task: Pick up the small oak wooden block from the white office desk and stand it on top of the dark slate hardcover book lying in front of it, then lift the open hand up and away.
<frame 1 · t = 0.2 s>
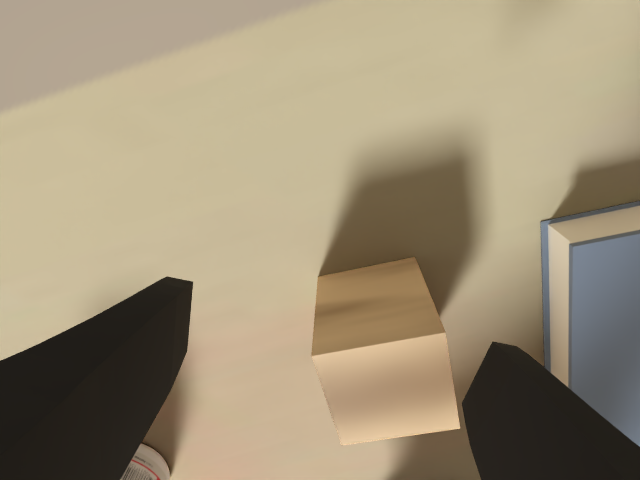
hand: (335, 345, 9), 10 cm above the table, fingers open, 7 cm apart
oak block: (375, 306, 21), on the table
pill bottle: (130, 462, 27), on the table
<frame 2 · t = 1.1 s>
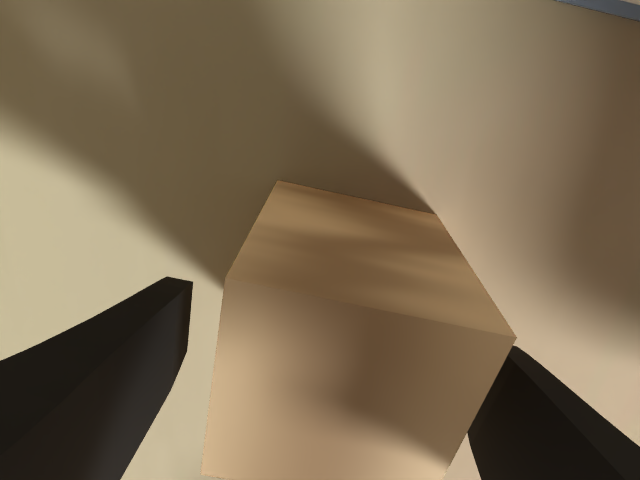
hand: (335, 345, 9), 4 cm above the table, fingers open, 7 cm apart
oak block: (339, 267, 13), on the table
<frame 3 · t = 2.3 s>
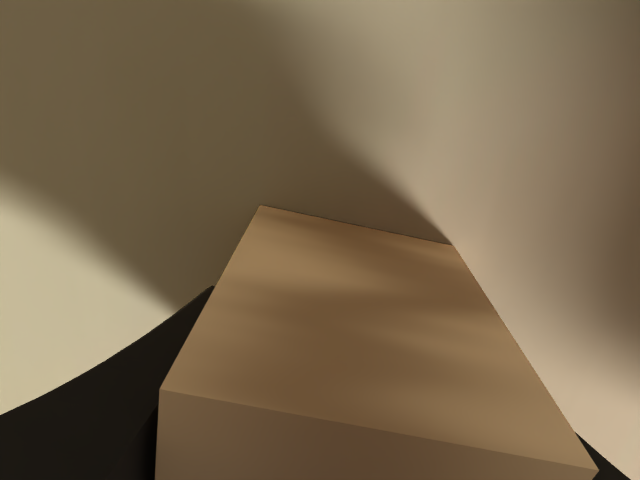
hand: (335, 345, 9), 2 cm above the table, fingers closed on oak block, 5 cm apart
oak block: (335, 307, 11), on the table, touching gripper
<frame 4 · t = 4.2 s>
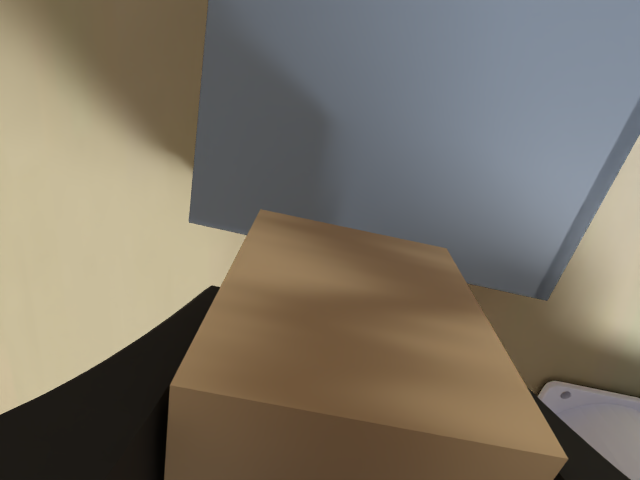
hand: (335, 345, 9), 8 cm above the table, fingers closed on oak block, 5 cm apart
oak block: (333, 306, 11), point 6 cm above the table, touching gripper
book: (404, 105, 15), on the table
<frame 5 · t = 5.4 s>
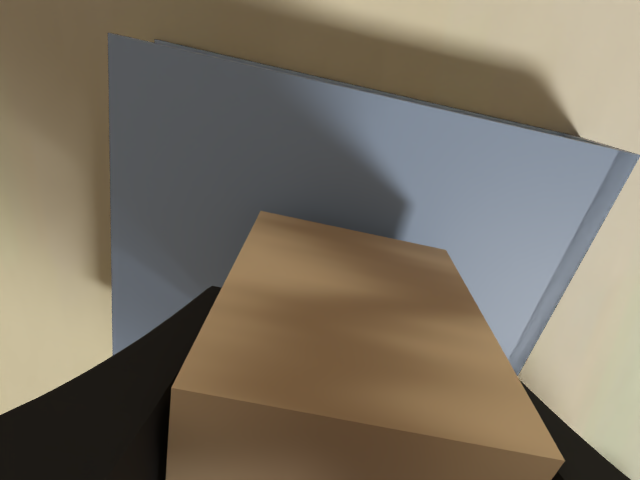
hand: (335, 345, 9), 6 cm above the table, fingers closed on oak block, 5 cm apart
oak block: (333, 307, 11), point 4 cm above the table, touching gripper
book: (335, 239, 15), on the table
when the fingers open (6 cm above the table, at t = 6.1 s): oak block drops 1 cm, resting on book.
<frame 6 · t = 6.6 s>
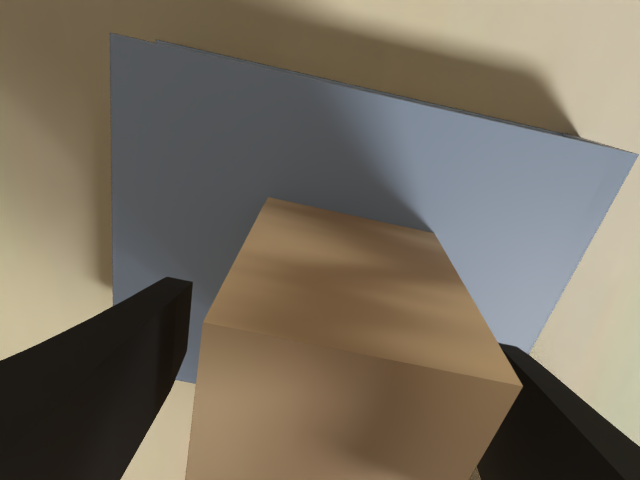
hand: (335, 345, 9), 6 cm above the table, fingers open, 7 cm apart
oak block: (332, 287, 12), point 3 cm above the table, touching book
book: (335, 239, 15), on the table, touching oak block
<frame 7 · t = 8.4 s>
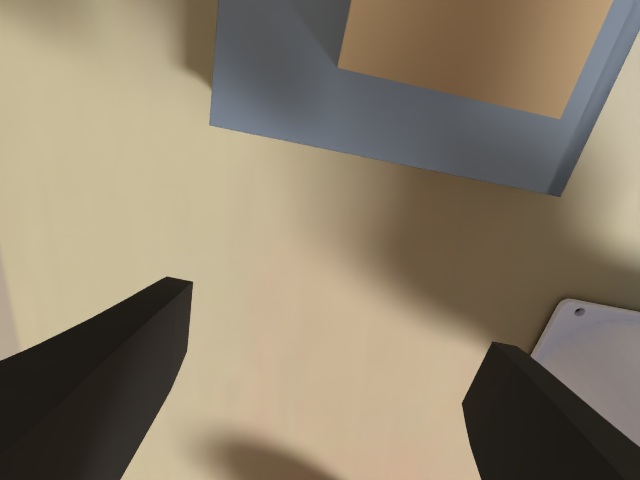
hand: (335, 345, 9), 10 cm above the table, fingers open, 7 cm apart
oak block: (427, 3, 13), point 3 cm above the table
book: (415, 10, 16), on the table
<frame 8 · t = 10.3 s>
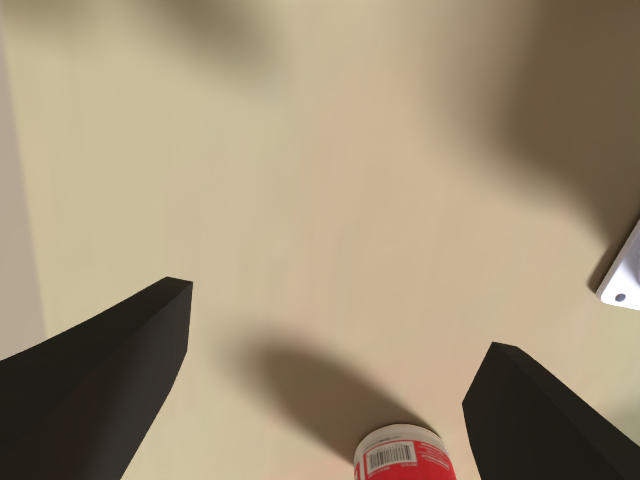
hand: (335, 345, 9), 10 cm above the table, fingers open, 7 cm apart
pill bottle: (399, 450, 26), on the table
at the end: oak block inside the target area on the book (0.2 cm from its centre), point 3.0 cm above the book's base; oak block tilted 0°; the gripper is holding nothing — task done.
